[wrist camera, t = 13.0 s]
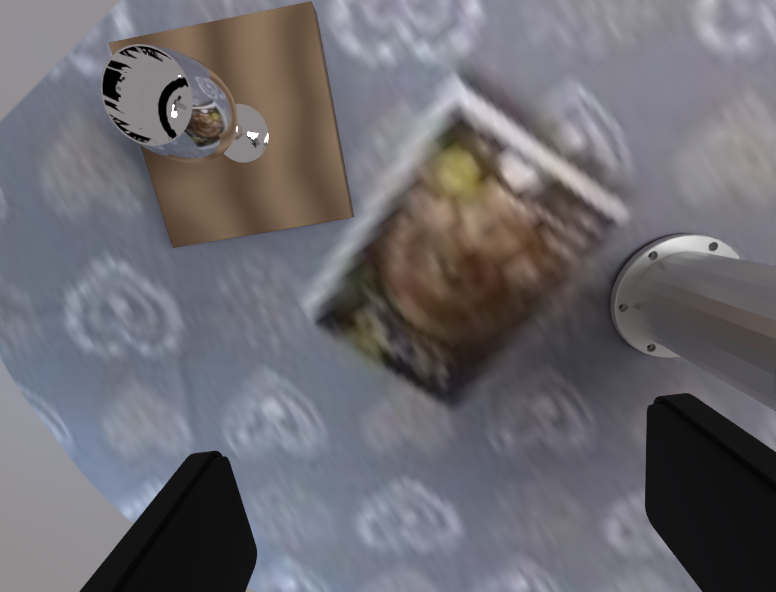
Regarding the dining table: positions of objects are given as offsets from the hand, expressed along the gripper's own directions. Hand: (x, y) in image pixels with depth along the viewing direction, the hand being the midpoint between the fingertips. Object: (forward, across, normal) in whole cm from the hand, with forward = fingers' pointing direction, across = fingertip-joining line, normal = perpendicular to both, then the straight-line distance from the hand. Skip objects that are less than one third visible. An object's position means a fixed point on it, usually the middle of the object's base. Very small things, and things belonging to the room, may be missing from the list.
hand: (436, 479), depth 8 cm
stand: (+30, +12, -13) cm, 35 cm away
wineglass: (+26, +12, -13) cm, 31 cm away
